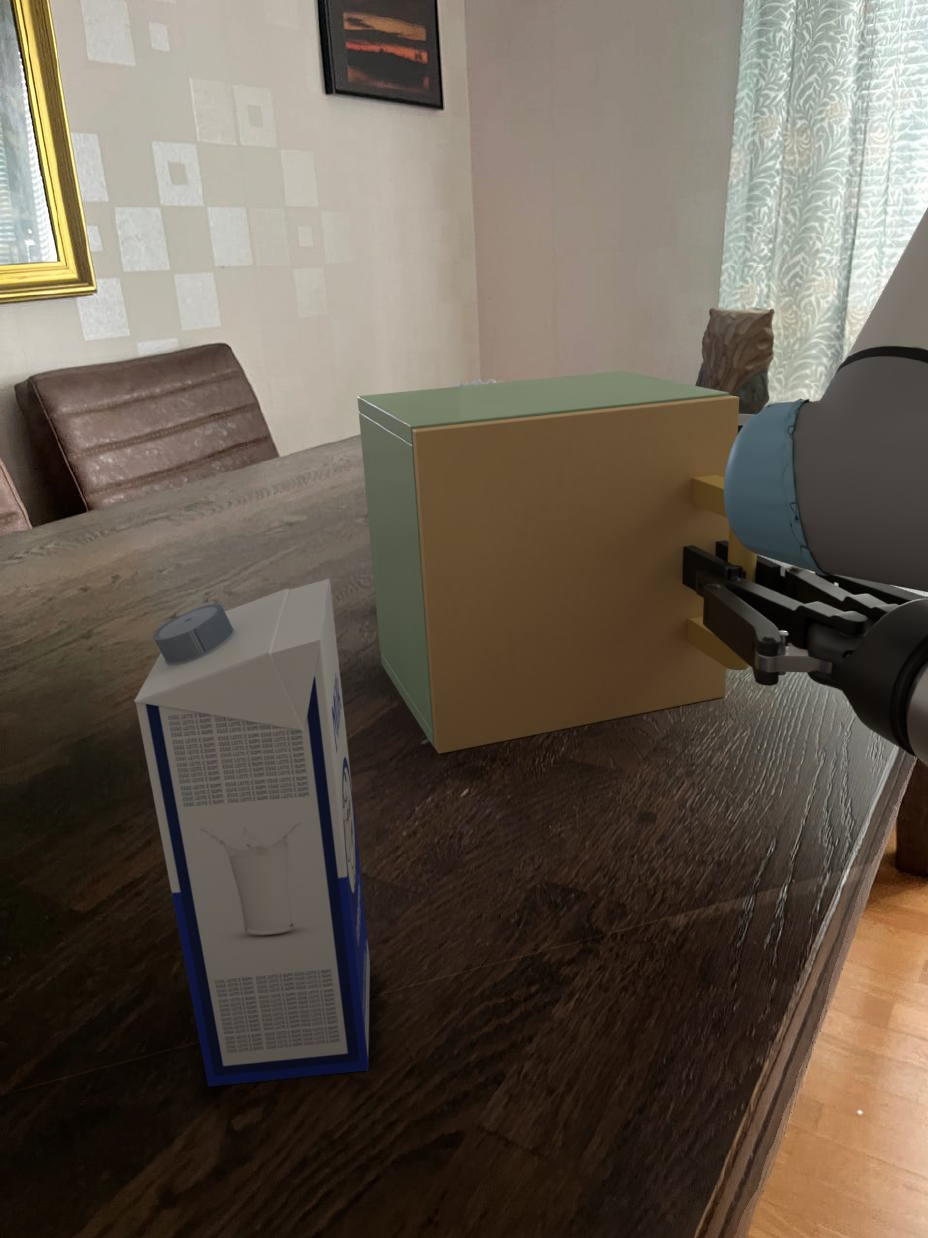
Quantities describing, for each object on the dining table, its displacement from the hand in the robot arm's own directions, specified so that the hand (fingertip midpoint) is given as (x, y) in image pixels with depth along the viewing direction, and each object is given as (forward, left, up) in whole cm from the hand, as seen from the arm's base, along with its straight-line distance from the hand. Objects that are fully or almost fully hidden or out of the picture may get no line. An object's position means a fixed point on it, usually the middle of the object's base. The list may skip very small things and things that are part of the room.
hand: (704, 562), depth 67 cm
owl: (+5, -127, -11) cm, 128 cm away
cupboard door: (+6, +7, -11) cm, 14 cm away
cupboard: (+13, -3, -11) cm, 17 cm away
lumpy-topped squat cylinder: (+51, -119, -11) cm, 130 cm away
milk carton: (+15, +36, -11) cm, 41 cm away
